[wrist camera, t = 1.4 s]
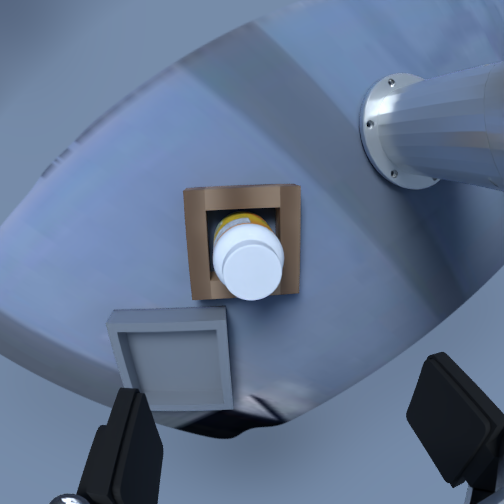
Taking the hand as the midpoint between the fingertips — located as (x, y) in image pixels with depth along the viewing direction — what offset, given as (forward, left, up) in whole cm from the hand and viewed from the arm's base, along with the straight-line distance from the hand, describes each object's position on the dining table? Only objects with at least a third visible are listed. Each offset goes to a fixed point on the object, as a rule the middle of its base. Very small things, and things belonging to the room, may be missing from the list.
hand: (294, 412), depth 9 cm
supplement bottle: (0, 0, -22) cm, 22 cm away
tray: (+8, +13, -22) cm, 27 cm away
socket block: (0, 0, -22) cm, 22 cm away
